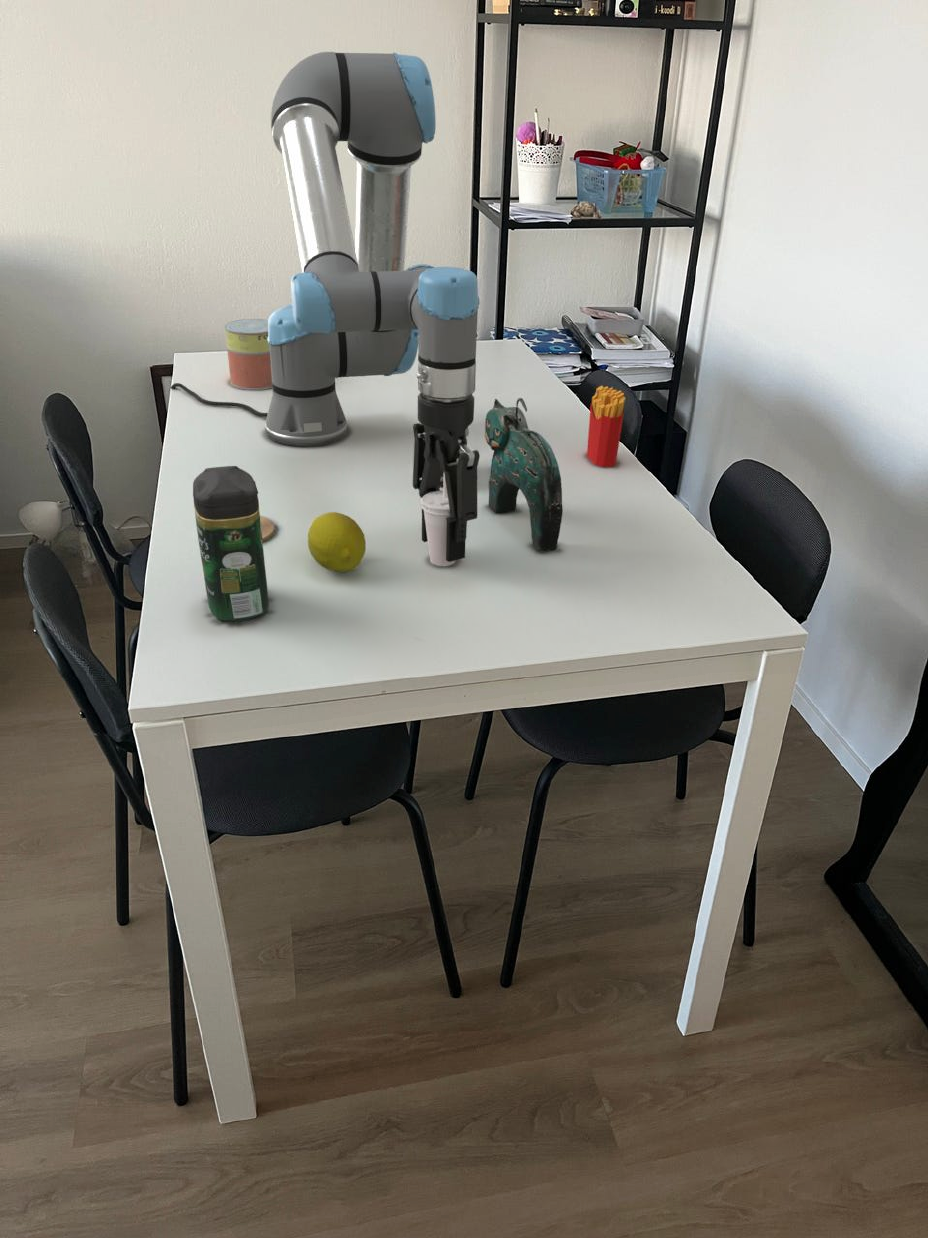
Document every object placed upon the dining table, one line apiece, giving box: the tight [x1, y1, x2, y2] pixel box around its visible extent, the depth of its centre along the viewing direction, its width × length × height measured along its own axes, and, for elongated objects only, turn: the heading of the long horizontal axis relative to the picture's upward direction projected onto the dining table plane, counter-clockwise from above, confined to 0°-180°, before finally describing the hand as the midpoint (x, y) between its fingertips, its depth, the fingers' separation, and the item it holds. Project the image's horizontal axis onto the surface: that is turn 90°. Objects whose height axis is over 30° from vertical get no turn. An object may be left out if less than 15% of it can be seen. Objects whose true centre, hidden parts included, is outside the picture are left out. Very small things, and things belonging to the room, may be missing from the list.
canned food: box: [224, 318, 272, 391], centre depth 202 cm, size 11×11×12 cm
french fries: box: [586, 385, 626, 468], centre depth 169 cm, size 9×4×13 cm, turn 15°
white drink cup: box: [420, 474, 458, 567], centre depth 134 cm, size 6×6×14 cm
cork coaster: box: [260, 515, 276, 543], centre depth 144 cm, size 10×10×1 cm
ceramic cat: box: [484, 397, 564, 553], centre depth 143 cm, size 20×6×20 cm, turn 23°
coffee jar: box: [192, 465, 270, 622], centre depth 121 cm, size 10×8×19 cm
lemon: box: [307, 511, 367, 573], centre depth 133 cm, size 11×8×8 cm
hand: (442, 548), depth 137 cm, fingers closed on white drink cup, 6 cm apart
